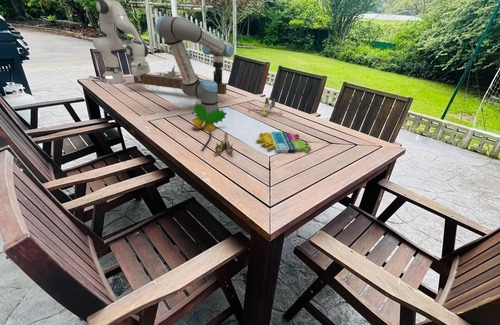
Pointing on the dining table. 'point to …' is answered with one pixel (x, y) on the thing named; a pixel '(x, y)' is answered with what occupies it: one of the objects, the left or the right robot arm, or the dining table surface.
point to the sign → (283, 142)
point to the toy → (266, 108)
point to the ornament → (207, 117)
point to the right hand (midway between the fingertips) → (217, 92)
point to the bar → (169, 82)
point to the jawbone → (224, 145)
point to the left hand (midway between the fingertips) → (142, 79)
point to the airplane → (170, 73)
